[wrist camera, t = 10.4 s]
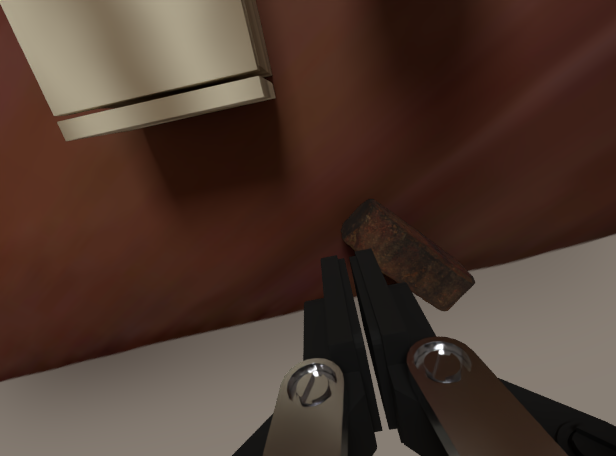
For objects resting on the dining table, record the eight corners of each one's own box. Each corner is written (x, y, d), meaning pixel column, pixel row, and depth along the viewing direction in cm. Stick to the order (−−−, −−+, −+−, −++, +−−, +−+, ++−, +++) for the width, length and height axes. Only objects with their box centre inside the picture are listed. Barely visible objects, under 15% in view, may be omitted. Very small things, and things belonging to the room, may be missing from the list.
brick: (454, 255, 29) (480, 282, 25) (425, 285, 30) (445, 316, 26) (365, 191, 27) (377, 208, 23) (337, 226, 28) (343, 249, 24)
